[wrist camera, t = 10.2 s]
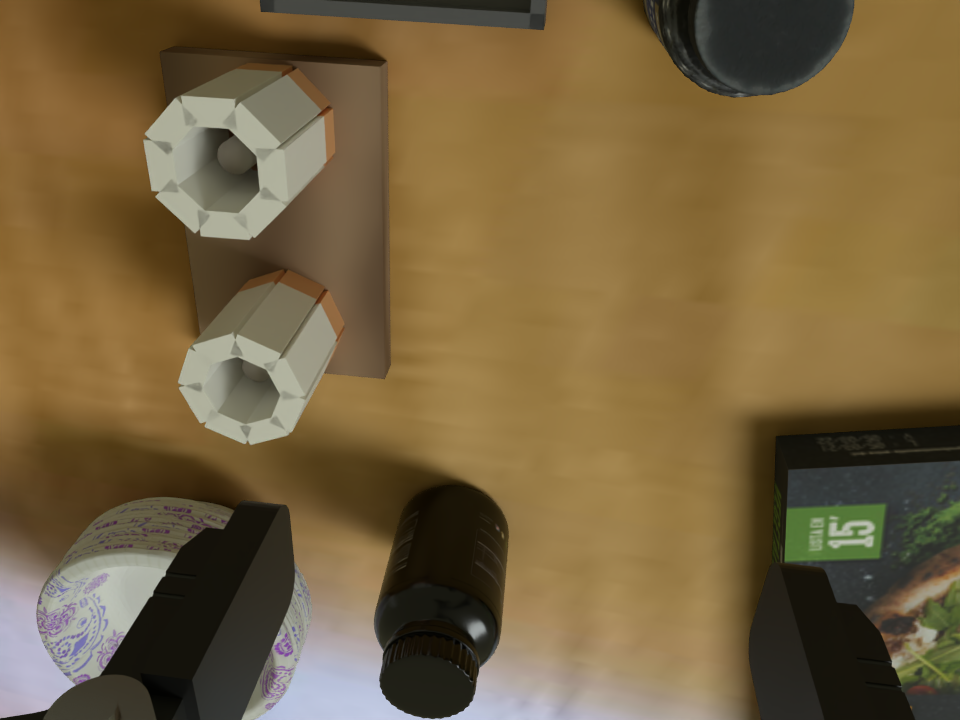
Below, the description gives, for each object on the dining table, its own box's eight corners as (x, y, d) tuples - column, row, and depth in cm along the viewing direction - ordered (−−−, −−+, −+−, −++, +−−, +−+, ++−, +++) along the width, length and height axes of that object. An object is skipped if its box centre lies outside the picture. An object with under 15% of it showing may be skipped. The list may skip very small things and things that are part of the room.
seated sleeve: (313, 259, 40) (266, 323, 34) (358, 352, 43) (321, 426, 37) (219, 289, 42) (158, 355, 36) (267, 377, 44) (218, 453, 38)
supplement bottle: (430, 576, 52) (394, 743, 42) (382, 498, 49) (330, 657, 39) (528, 550, 50) (515, 719, 40) (483, 467, 47) (457, 626, 37)
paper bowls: (365, 613, 55) (334, 715, 48) (181, 653, 59) (128, 752, 52) (255, 437, 48) (201, 525, 41) (56, 495, 52) (-23, 585, 45)
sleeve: (331, 67, 35) (280, 102, 29) (337, 189, 38) (291, 243, 32) (210, 60, 36) (135, 92, 30) (224, 181, 39) (158, 232, 33)
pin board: (387, 61, 37) (352, 90, 31) (390, 365, 45) (363, 432, 39) (174, 46, 37) (102, 72, 32) (214, 348, 45) (163, 412, 40)
